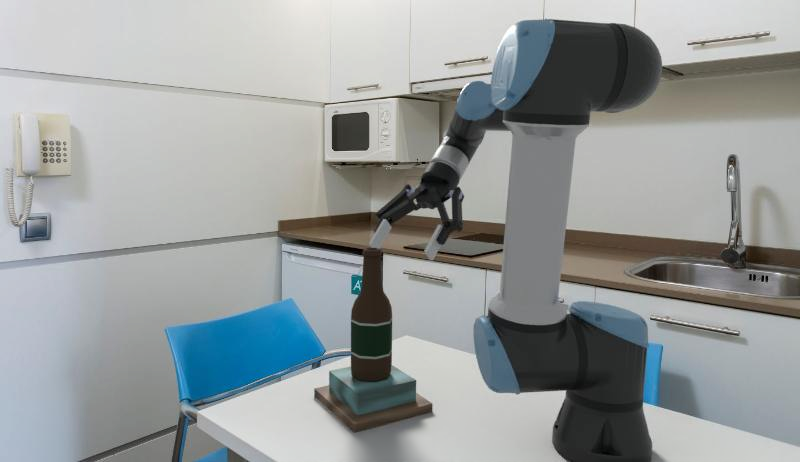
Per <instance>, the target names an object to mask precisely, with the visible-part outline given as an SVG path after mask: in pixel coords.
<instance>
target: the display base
mask: <svg viewBox="0 0 800 462" xmlns="http://www.w3.org/2000/svg"><path fill="white" fill-rule="evenodd" d="M328 377H329V378H328V380H329V382H328V384H327V385H324V386H319V387H315V388H313V389H314V391H313V392H314V393H313V394H314V395H313V396H314V398H316V399H317V400H318V401H320V402H321V403H322V404H323V406H325V407H326V408H327V409H328V410H329V411H330V412H332V414H334V415H335V416H336V417H337V418H338V419H339V420H340V421H341V422H343V424H345V425H346V426H347V427H348V428H349V429H350V430H351V431H352V432H353V433H357V432H361V431H364V430H369V429H372V428H376V427H380V426H383V425H387V424H391V423H395V422H397V421H402V420H406V419H409V418H413V417H417V416H420V415H423V414H427V413H431V412H433V406H434V404H433V403H432V402H431V401H429V400H428V399H427V398H425V397H424V396H422V395H420V394H418V393H417V380H416V379H415V378H414V377H412V376H411V375H409V374H407V373H406V372H405V371H402V370H400V369H399V368H398V367H396V366H394V365H393V364H392V366H391V373H390V375H389V377H388V379H386V380H382V381H378V382H363V381H359V380H357V379H356V378H354V377H352V375H351V366H346V367H342V368H341V367H340V368H337V369H332V370H329V371H328Z"/></svg>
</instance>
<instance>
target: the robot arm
mask: <svg viewBox="0 0 800 462" xmlns="http://www.w3.org/2000/svg"><path fill="white" fill-rule="evenodd" d="M495 55H496V56H495V59H494V63H493V65H492V71H491V78H490V79H491V80H490V83H487V82H484V80H474V81H473V80H472V81H470V82H469V83H467V84H466V85H465V86H464V87H463V88H462V90H461V92H460V94H459V96H458V98H457V99H456V102H455V107H454V110H453V113H452V118H451V120H450V123H449V124H448V125H449V126H448V128H447V131H446V133H445V134H444V138H442V141H441V143H440V144H439V146H438V148H437V150H436V151H435V153H434V154H433V156H432V158H431V159H430V161H429V163H428V165H427V166H426V167H425V170H424V171H423V172H422V175H421V178H420V183H419V185H417V186H416V187H413V186H411V185H410V184H408V183H407V184H405V185H404V187H403V188H402V190H400V192H399V193H397V194H396V195H395V196H394V197H393V198H391V200H389V201H388V202H387V203H385V205H383V207H381V208H380V209H379V210H377V211H376V212H375V217H376V218H377V220H378V221H379V222H378V224H377V226H376V227H375V229H374V231H373V233H374V234H373V235H372V237H371V239H370V241H369V242H368V245H369V247H370V248H379V249H381V248H382V245H383V243H384V242H385V240H386V239H387V237H388V236H389V234H390V232H391V230H392V228H393V227H392V225H393V224H394V223H396V222H397V221H399V220H401V219H402V218H404V217H406V216H407V215H408V214H411V213H412V212H414V211H415V212H416V211H418V210H420V209H423V210H424V209H428V210H429V209H430V210H435V209H437V211H438V214H439V216H440V219H441V223H442V224H437V226H436V228H435V230H434V232H433V234H432V235H431V238H430V239H429V241H428V243H427V245H426V247H425V248H424V250H423V252H424V253H425V255H426V256H427V258H428V260H429V261H434V259H435V257H436V255H437V254H438V252H439V250H440V248H441V246H444V245H445V244H446V242H447V240H448V239H449V237H450V234H452V233H453V232H455V231H457V232H462V230H464V227H463V222H464V221H463V201H464V199H465V195H464V193H463V191H462V189H461V187H460V186H459V184H460V181H461V179H462V178H463V176H464V174H465V172H466V170H467V168H468V167H469V164H470V162H471V161H472V159H473V157H474V156H475V154H476V152H477V150H478V148H479V147H480V145H481V144H482V142H483V140H484V137H485V134H486V132H487V131H493V132H495V131H499V132H503V131H504V132H510V133H511V136H512V139H511V150H510V151H511V152H510V165H509V174H508V175H509V176H508V185H507V186H508V187H507V201H506V212H505V225H504V235H503V248H502V261H501V273H500V283H499V284H500V285H499V293H497V294H496V295H495V296H493V297H492V298H491V299H490V300H489V302H488V307H487V308H488V309H487V315H481V316H480V315H479V316H478V317H476V318H475V319H474V323H473V345H474V351H475V356H476V361H477V365H478V369H479V371H480V372H479V373H480V374H481V377H482V379H483V382H484V383H485V385H486V386H487V388H488V389H489V390H491V391H492V392H494V393H496V394H515V395H520V394H524V393H527V394H528V393H542V392H543V393H544V392H562V391H565V396H564V399H563V402H562V404H561V407H560V409H559V411H558V413H557V415H556V419H555V421H554V423H553V425H552V437H551V441H552V446H553V448H554V449H555V450H556V451H557V452H558V453H559V454H560V455H561V456H562V457H564V458H565V459H567V460H568V461H570V462H652V457H653V455H652V454H653V441H652V438H651V436H650V432H649V428H648V427H649V426H648V423H647V420H646V416H645V412H644V395H645V382H646V369H647V356H648V348H649V346H650V344H649V327H648V323H647V321H646V320H645V319H644V317H642V316H641V315H639V313H636V312H634V311H632V310H629V309H626V308H623V307H620V306H616V305H611V304H606V303H602V302H594V301H585V300H584V301H583V300H582V301H581V300H579V301H574V302H572V303H571V304H570V307H569V308H568V309H569V310H568V311H567V308H566V307H565V305H564V304H563V303H562V302H561V301H560V300H559V293H560V284H561V275H562V266H563V258H564V257H563V255H564V247H565V241H566V240H565V239H566V238H565V237H566V230H567V222H568V221H567V220H568V213H569V212H568V211H569V203H570V195H571V185H572V175H573V167H574V158H575V157H574V156H575V150H576V149H575V147H576V140H577V138H578V137H579V135H580V134H582V133H583V132H584V131H585V130H586V129H588V128H589V127H590V120H591V119H590V118H591V115H592V114H596V113H598V112H603V113H607V114H615V113H621V112H625V111H627V110H631V109H635V108H637V107H638V106H641V105H642V104H644V103H645V102H646V101H648V99H650V98H651V96H653V94H654V93H655V92H656V91H657V88H658V87H659V84H660V82H661V78H662V74H663V62H662V61H663V60H662V55H661V53H660V49H659V48H658V46H657V45H656V43H655V42H654V40H653V39H652V38H651V37H650V36H649V35H648V34H647V33H645V32H644V31H642V30H640V29H639V28H637V27H635V26H631V25H629V24H626V23H616V22H615V23H614V22H609V23H607V22H606V23H605V22H593V21H592V22H591V21H580V20H579V21H577V20H567V19H566V20H565V19H552V18H549V19H548V18H544V19H525V20H520V21H518V22H516V23H514V24H513V25H512V26H511V27H510V28H509V29H508V30H507V31H506V33H505V34H504V36H503V38H502V39H501V42H500V44H499V46H498V49H497V52H496V54H495ZM450 199H451V220H450V217H449V214H448V212H447V208H446V205H445V202H447V201H448V200H450ZM414 200H416V203H415V201H414ZM568 312H569V313H568Z"/></svg>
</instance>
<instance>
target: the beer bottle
mask: <svg viewBox="0 0 800 462" xmlns="http://www.w3.org/2000/svg"><path fill="white" fill-rule="evenodd" d="M361 255H362V256H363V262H362V274H361V275H362V276H361V278H362V279H361V287H360V292H359V294H358V295H357V297H356V299H355V300H354V302H353V305H352V307H351V314H350V367H351V375H352V377H354V378H356V379H357V380H359V381H363V382H378V381H382V380H386V379H388V377H389V375H390V373H391V366H392V365H393V364H392V363H393V362H392V361H393V359H392V358H393V309H392V308H393V306H392V304H391V302H390V299H389V298H388V296H387V294H386V293H385V291H384V287H383V286H384V285H383V278H382V277H383V274H382V257H381V256H382V255H383V250H382V249H381V248H380V249H379V248H371V247H366V248H364V249H362V252H361Z"/></svg>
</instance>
